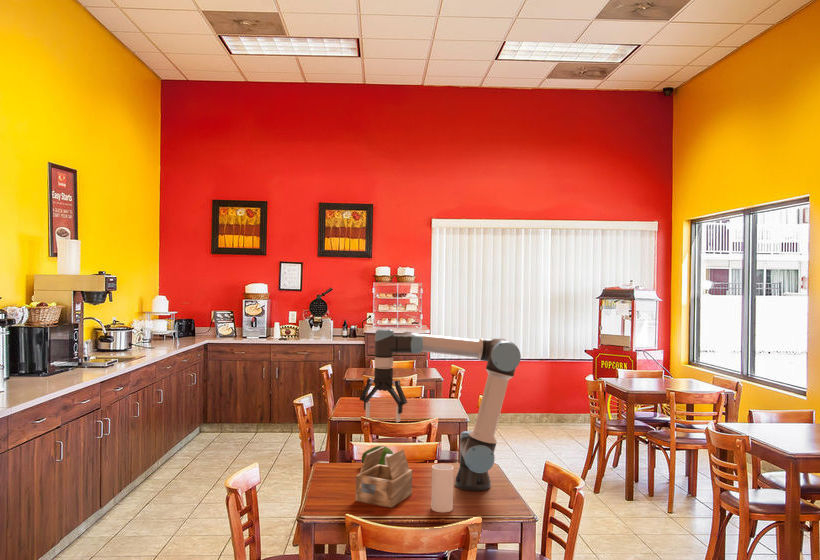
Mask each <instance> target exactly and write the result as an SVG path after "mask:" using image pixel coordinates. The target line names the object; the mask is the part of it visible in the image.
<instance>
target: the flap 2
mask: <svg viewBox="0 0 820 560" xmlns="http://www.w3.org/2000/svg"><path fill="white" fill-rule="evenodd" d="M386 459H387V463H388V466H389V470H390V473H391V477H392V478H395V477H396V476H398V475H400V474H401V473H403V472H405V471H406V470H408V469H410V467H409V464H408V459H407V457H406V453H405V450H404V449H401V450H398V451H397V452H395V453H393V455H391V456H389V457H387V458H386Z"/></svg>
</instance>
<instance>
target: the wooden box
mask: <svg viewBox="0 0 820 560" xmlns="http://www.w3.org/2000/svg"><path fill="white" fill-rule="evenodd" d="M412 495H413V469H410V468H409V469H408V470H406V471H405V472H403V473H401V474H400V475H398V476H396V477H395V478H392V477H391V473H390V470H389V466H387V465H380V464H378V465H376V466H374V467H372V468H370V469H368V470H366V471H364V472H363V473H360V472H359V473H358V474H356V475H355V502H360V503H363V504H369V505H374V506H379V507H384V508H389V509H392V508H394V507H395V506H397V505H398V504H400V503H401V502H403V501H404V500H406V499H408V498H409V497H410V496H412Z"/></svg>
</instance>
